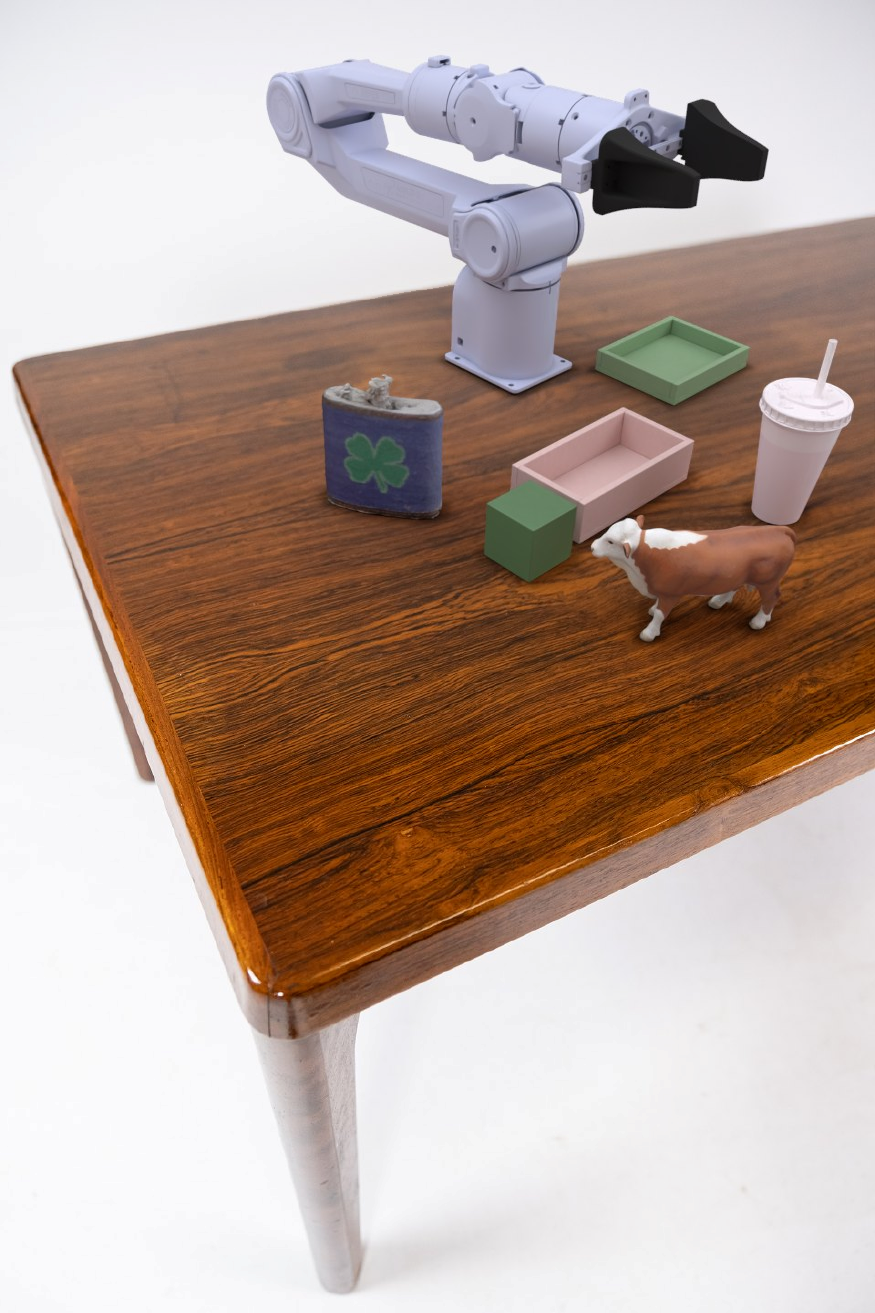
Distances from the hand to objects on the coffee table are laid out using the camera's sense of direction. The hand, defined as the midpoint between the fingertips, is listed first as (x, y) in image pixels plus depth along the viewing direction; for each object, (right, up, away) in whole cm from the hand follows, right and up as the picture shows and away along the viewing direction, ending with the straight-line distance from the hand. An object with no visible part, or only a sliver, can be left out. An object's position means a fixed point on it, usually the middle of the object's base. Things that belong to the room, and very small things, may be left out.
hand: (730, 177), depth 70 cm
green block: (-14, -26, +4) cm, 29 cm away
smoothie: (+6, -22, +8) cm, 24 cm away
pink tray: (-7, -20, +10) cm, 24 cm away
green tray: (+2, -6, +26) cm, 26 cm away
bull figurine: (-4, -31, -1) cm, 31 cm away
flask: (-25, -22, +8) cm, 34 cm away
